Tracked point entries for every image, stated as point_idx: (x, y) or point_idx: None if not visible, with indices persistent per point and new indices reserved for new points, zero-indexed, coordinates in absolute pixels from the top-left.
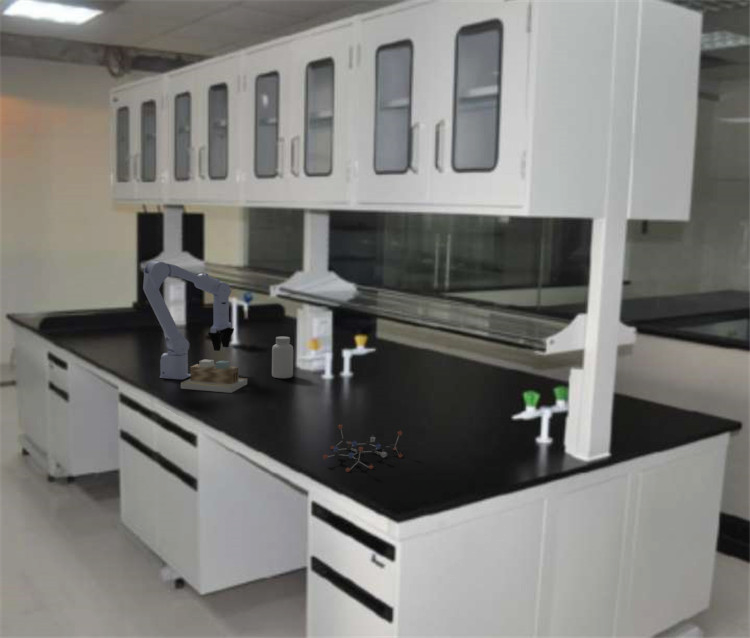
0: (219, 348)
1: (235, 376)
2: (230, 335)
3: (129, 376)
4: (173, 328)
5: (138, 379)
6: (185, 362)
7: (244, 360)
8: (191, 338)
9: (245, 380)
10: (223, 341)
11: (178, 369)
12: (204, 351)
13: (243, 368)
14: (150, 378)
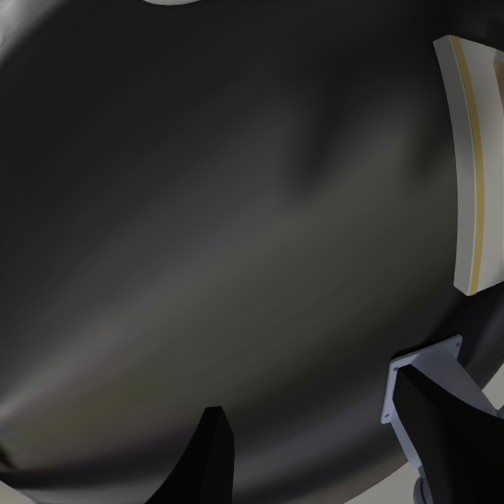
0: (422, 373)
1: None
2: (185, 501)
3: None
4: None
5: None
6: (465, 387)
7: (22, 346)
8: (36, 484)
9: (460, 39)
10: (228, 472)
11: (468, 374)
12: (63, 463)
13: (115, 266)
14: None
